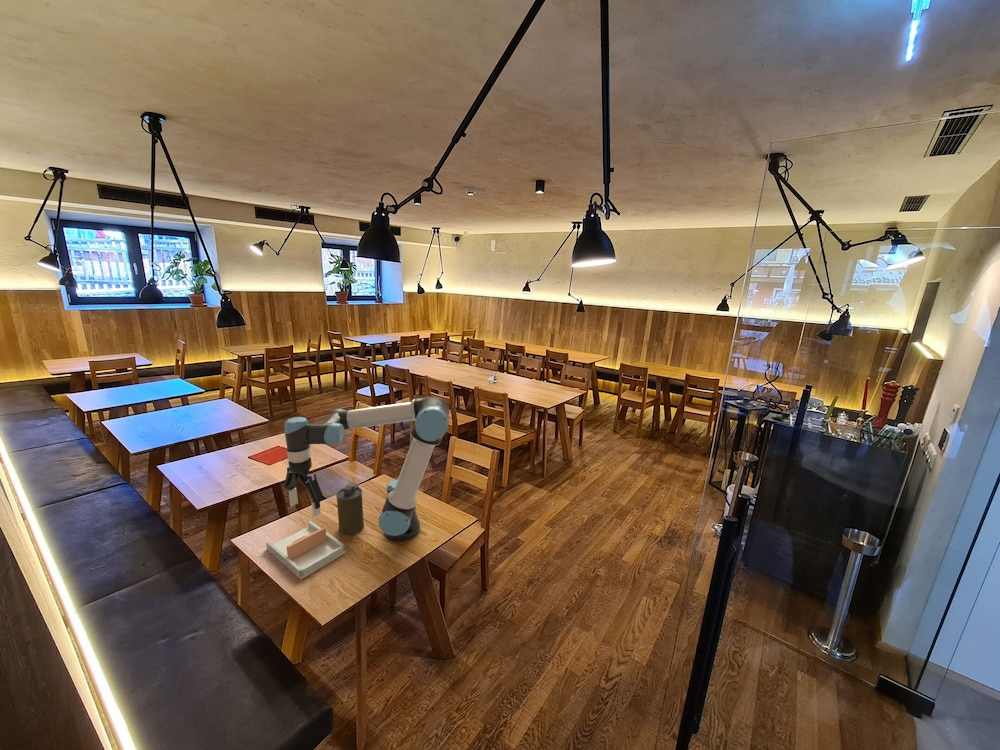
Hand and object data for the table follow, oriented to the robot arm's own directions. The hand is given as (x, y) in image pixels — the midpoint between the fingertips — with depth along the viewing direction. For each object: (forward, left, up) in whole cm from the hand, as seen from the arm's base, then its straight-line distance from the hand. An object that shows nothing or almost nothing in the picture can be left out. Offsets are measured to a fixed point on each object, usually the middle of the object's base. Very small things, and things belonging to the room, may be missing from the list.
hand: (305, 509), depth 147 cm
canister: (-8, -18, -20) cm, 28 cm away
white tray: (+2, -1, -20) cm, 20 cm away
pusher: (+4, -2, -19) cm, 19 cm away
